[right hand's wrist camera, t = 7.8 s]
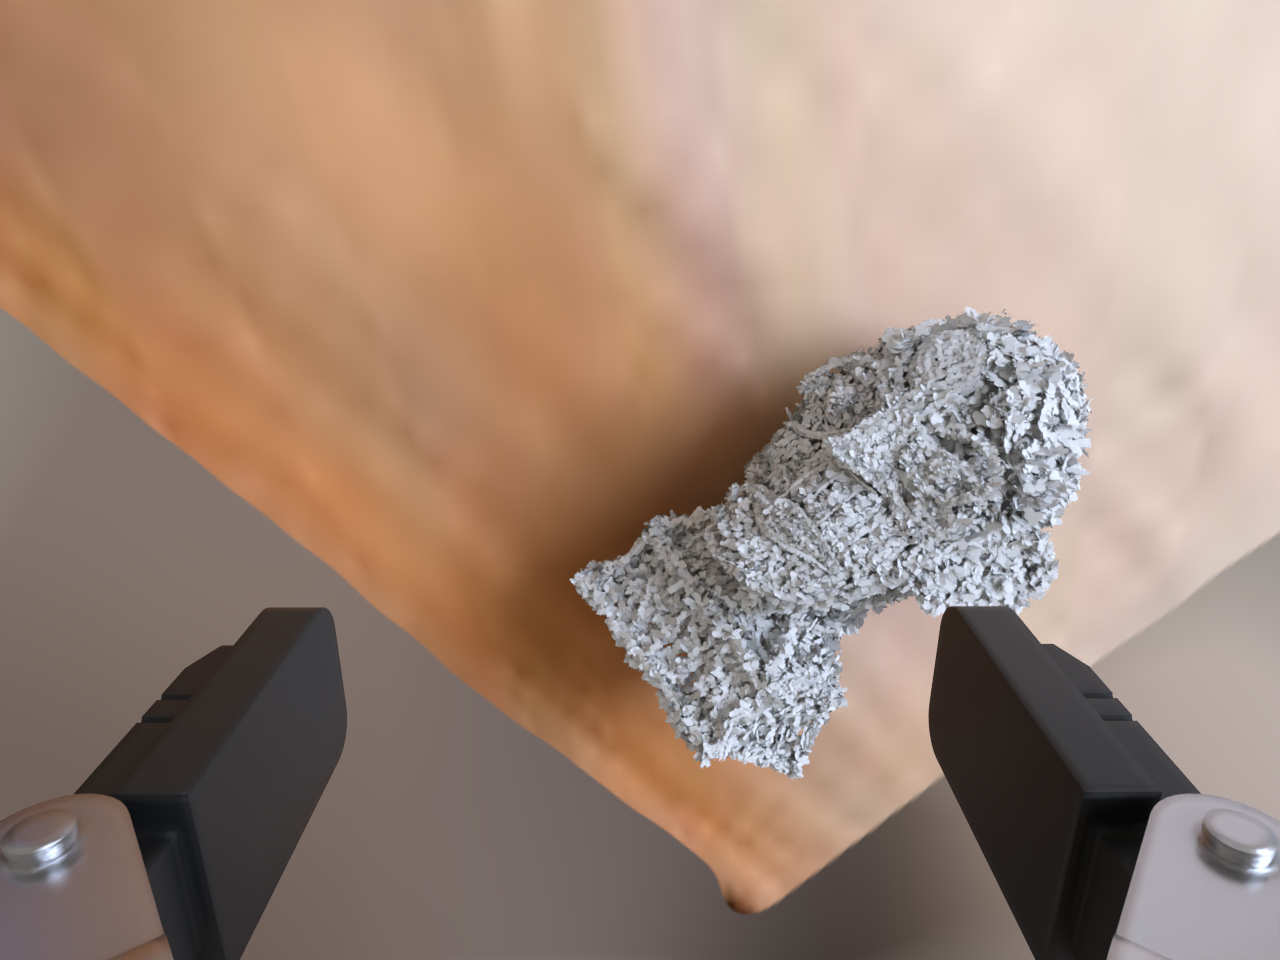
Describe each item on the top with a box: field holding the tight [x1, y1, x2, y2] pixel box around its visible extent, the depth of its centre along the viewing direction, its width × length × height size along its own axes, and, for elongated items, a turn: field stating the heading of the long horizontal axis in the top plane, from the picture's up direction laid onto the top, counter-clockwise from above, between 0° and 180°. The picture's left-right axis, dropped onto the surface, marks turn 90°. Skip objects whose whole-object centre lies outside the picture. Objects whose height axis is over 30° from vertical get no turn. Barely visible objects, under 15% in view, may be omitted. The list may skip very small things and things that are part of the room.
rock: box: [569, 306, 1093, 780], centre depth 46 cm, size 17×17×28 cm
